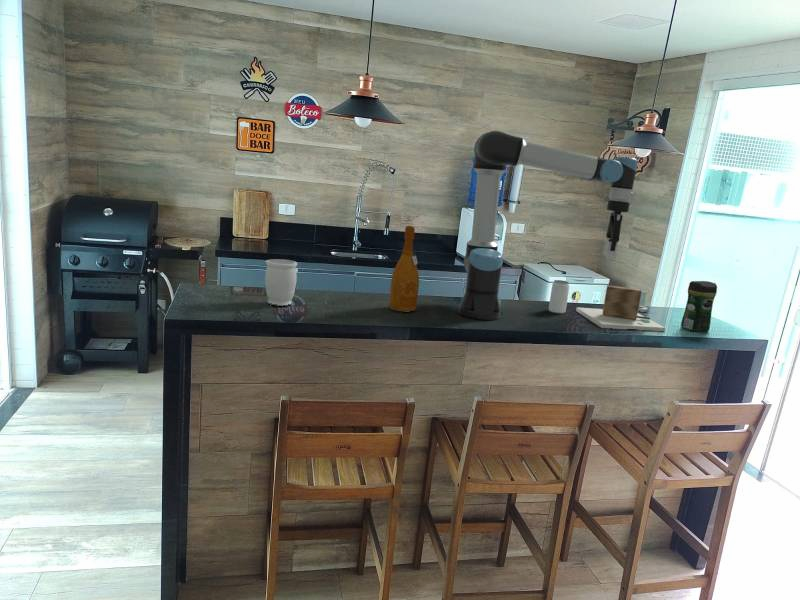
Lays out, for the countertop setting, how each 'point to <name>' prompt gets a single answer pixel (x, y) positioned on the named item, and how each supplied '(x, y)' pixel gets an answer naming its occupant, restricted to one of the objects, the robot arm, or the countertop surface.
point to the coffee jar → (699, 306)
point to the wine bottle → (405, 277)
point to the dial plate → (618, 320)
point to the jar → (280, 281)
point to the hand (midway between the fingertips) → (608, 257)
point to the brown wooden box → (622, 302)
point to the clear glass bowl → (642, 302)
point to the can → (559, 296)
